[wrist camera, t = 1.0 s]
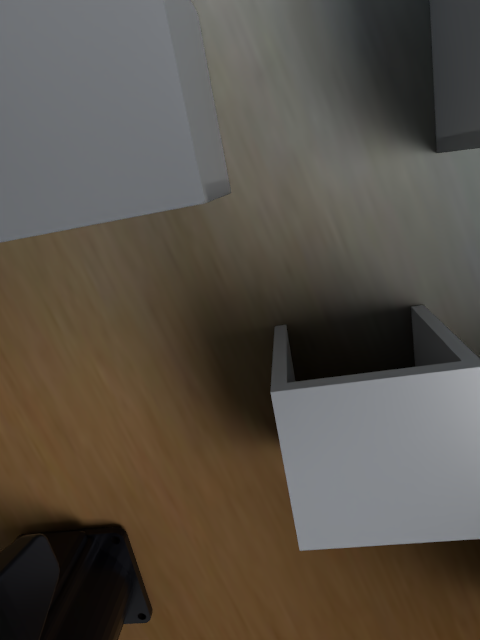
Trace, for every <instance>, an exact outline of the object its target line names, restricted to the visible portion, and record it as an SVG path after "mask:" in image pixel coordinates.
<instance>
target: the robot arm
mask: <svg viewBox="0 0 480 640" xmlns="http://www.w3.org/2000/svg"><path fill="white" fill-rule="evenodd" d="M117 537H118V538H117ZM151 615H152V607H151V604H150V601H149V598H148V595H147V592H146V589H145V586H144V583H143V580H142V577H141V574H140V571H139V568H138V565H137V562H136V559H135V556H134V553H133V550H132V547H131V544H130V541H129V538H128V535H127V533H126V531H125V530H124V529H122V528H120V527H110V528H97V529H84V530H71V531H59V532H46V533H33V534H22V535H19V536H18V537H17V538H16V540H15V541H14V542H13V543H12V544H11V545H9V546H8V547H7V548H5V549H4V550H3V551H1V552H0V640H118V638H119V635H120V632H121V630H122V627H123V624H132V623H146V622H148V621H150V618H151Z"/></svg>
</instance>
